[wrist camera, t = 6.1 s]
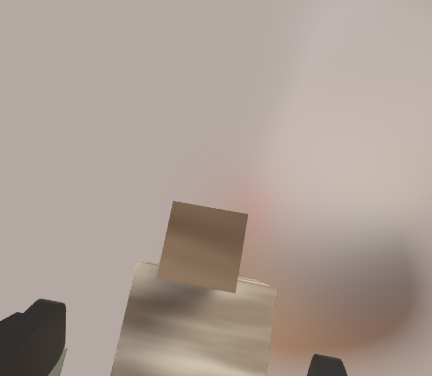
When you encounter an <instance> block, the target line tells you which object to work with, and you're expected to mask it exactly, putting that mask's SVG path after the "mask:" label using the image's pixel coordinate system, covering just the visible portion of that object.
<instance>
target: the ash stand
mask: <svg viewBox="0 0 432 376" xmlns="http://www.w3.org/2000/svg"><path fill="white" fill-rule="evenodd" d="M159 265H160V263H137V265H136V269H135V273H134V277H133V282H132V286H131V290H130V295H129V299H128V303H127V307H126V312H125V316H124V320H123V324H122V329H121V333H120V337H119V342H118V346H117V350H116V354H115V359H114V363H113V367H112V372H111V376H266V375H267V368H268V360H269V352H270V344H271V337H272V329H273V321H274V313H275V306H276V298H277V290H278V289H276V288H274V287H272V286H269V285H267V284H265V283H262V282H260V281H258V280H255V279H253V278H247V277H242V276H238V281H237V287H236V293H230V292H225V291H220V290H215V289H209V288H204V287H199V286H194V285H188V284H183V283H178V282H173V281H167V280H162V279H157V274H158V269H159Z"/></svg>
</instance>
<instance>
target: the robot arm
mask: <svg viewBox="0 0 432 376" xmlns="http://www.w3.org/2000/svg"><path fill="white" fill-rule="evenodd" d="M65 330H66V306H65V304H64V303H61V302H56V301H51V300H46V299H39V300H37V301H36V302H35V303H34V304H33V305H31V306H30V307H29V308H28V309H27V310H26V311H25V312H24V313H19V312H17V313H15V314H13V315H11V316H9V317H7V318H5V319H3V320H2V321H0V376H48V375H49V374H50V372H51V371H52V370H53V368H54V367H55V365H56V364H57V362H58V361H59V359H60V357H61V355H62V352H63V350H64V346H65V333H66V331H65ZM307 376H347V373H346V370H345V368H344V365H343V362H342V361H341V359H339V358H334V357H328V356H323V355H318V354H314V356H313V358H312V360H311V364H310V367H309V370H308V374H307Z"/></svg>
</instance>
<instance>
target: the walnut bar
mask: <svg viewBox="0 0 432 376" xmlns="http://www.w3.org/2000/svg"><path fill="white" fill-rule="evenodd" d="M247 218H248V214H243V213H238V212H232V211H226V210H221V209H215V208H209V207H204V206H198V205H192V204H187V203H181V202H175V201H173V205H172V210H171V214H170V219H169V223H168V228H167V232H166V237H165V242H164V246H163V251H162V256H161V260H160V265H159V269H158V274H157V279H162V280H167V281H173V282H178V283H183V284H188V285H194V286H199V287H204V288H209V289H215V290H220V291H225V292H230V293H236V287H237V281H238V275H239V268H240V261H241V255H242V249H243V243H244V236H245V230H246V223H247Z"/></svg>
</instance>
